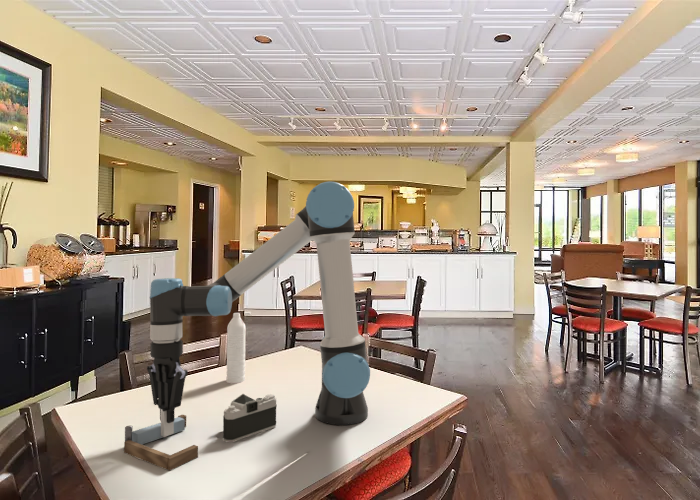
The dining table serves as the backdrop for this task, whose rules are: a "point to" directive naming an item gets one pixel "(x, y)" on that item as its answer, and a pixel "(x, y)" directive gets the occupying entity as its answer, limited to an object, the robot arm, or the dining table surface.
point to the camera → (248, 417)
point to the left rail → (182, 457)
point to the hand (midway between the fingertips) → (167, 434)
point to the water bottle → (236, 349)
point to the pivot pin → (128, 433)
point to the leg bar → (155, 431)
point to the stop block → (183, 418)
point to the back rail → (146, 454)
